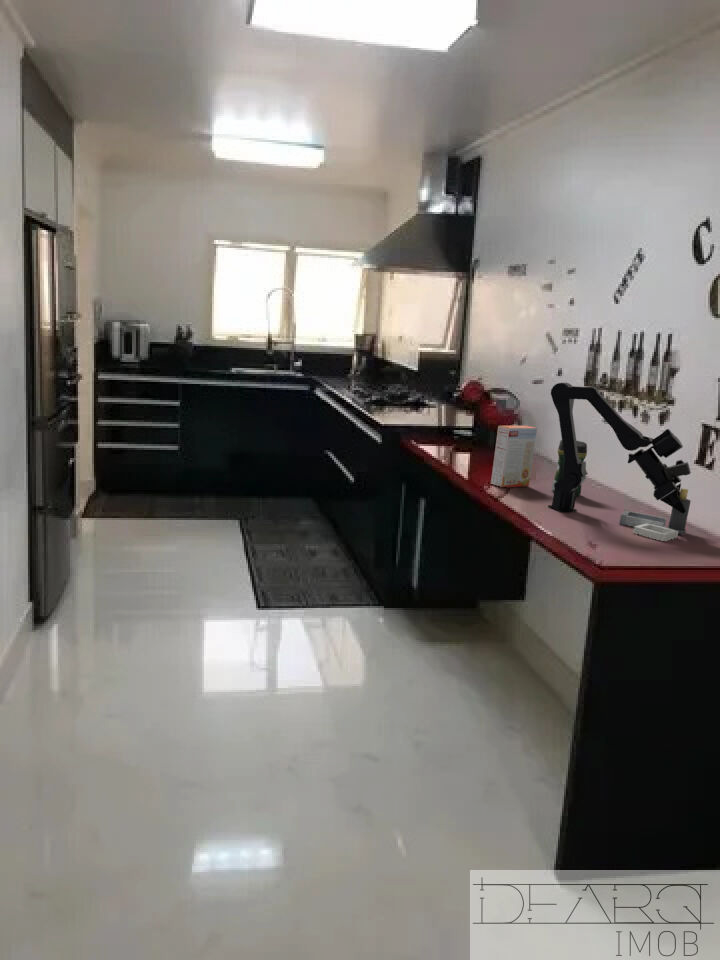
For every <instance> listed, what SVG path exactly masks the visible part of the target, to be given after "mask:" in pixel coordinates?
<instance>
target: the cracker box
mask: <svg viewBox="0 0 720 960" xmlns="http://www.w3.org/2000/svg"><path fill="white" fill-rule="evenodd" d="M537 429H538V428H537V427H534V426H530V425H498V427H497V433H496V434H497V435H496V441H495V449H494V457H493V463H492V464H493V465H492V470H491V472H492V473H491V478H490V485H491V484H494V485H497V486H496V487H498V486H500V487H499V488H501V487H507V488H521V487H529V486H530V481H531V480H530V479H531V472H532V465H533V460H534V452H535V446H536V439H537V432H538V431H537ZM494 485H493V486H494Z"/></svg>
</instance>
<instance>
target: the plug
mask: <svg viewBox="0 0 720 960" xmlns="http://www.w3.org/2000/svg"><path fill="white" fill-rule="evenodd" d="M688 492H689V489H688V488H687V489H686V488H680V496H679V498H680V500H681V502H682V504H683V506H684V508H685V510H686V512H684V513H681V512H680V511H678V510H676V509H675V508H673V507H671V512H670V517H669V522H668V525H667V526H666V528H669V529H672V530H676V531H678V534H685V535H686V531H687V530H686V525H687V521H688V515H689V512H690V506H691V501H692V500H691V499H688V498H687V497H688Z"/></svg>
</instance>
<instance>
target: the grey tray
mask: <svg viewBox="0 0 720 960" xmlns="http://www.w3.org/2000/svg"><path fill="white" fill-rule="evenodd" d="M666 522H667V517H662V516H657V515H653V514H648V513H641V512H638V511H637V512H636V511H632V510H627V509H625V510H624V511H623V512H622V513H621V514H620V519H619V525H621V524H622V526H626V525H627V526H626V527H631V526H632V527H631V528H634V527H635V526H638V525H642V524H646V523H649V524H653V525H657V526H661V527H665V528H666Z"/></svg>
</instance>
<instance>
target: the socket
mask: <svg viewBox="0 0 720 960" xmlns="http://www.w3.org/2000/svg"><path fill="white" fill-rule="evenodd" d="M632 531H633V532H632V533H633V534H634V533H636V534H635V535H637V534H639V535H638V536H641V535H642V536H641V537H644V536H645V537H646V538H648V537H649V538H648V539H652V538H653V540H655V539H656V541H659V540H660V542H663V541H666V542H668V540H669V541H671V540H670V539H672V540H675V539H678V536H679V535H678V531H676V530H672V529H669V528H667V527H666V526H665V527H661V526H657V525H653V524H649V523H646V524H642V525H638V526H635V527H633V530H632ZM674 538H675V539H674Z"/></svg>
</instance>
